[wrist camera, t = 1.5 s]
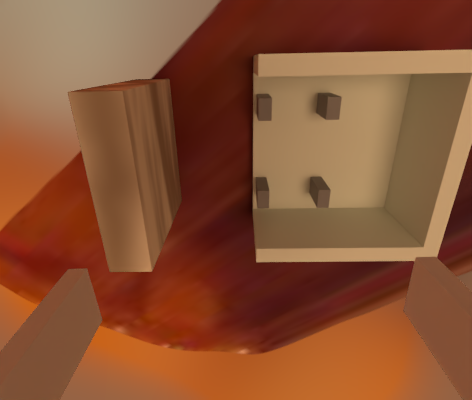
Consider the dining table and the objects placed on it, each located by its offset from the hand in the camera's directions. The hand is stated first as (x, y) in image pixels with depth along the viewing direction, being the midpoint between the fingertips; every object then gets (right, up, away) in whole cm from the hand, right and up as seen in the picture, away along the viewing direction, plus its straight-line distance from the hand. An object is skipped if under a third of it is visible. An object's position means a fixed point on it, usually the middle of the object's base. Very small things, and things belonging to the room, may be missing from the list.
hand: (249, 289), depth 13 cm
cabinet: (+10, +10, +22) cm, 26 cm away
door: (-9, +10, +22) cm, 26 cm away
